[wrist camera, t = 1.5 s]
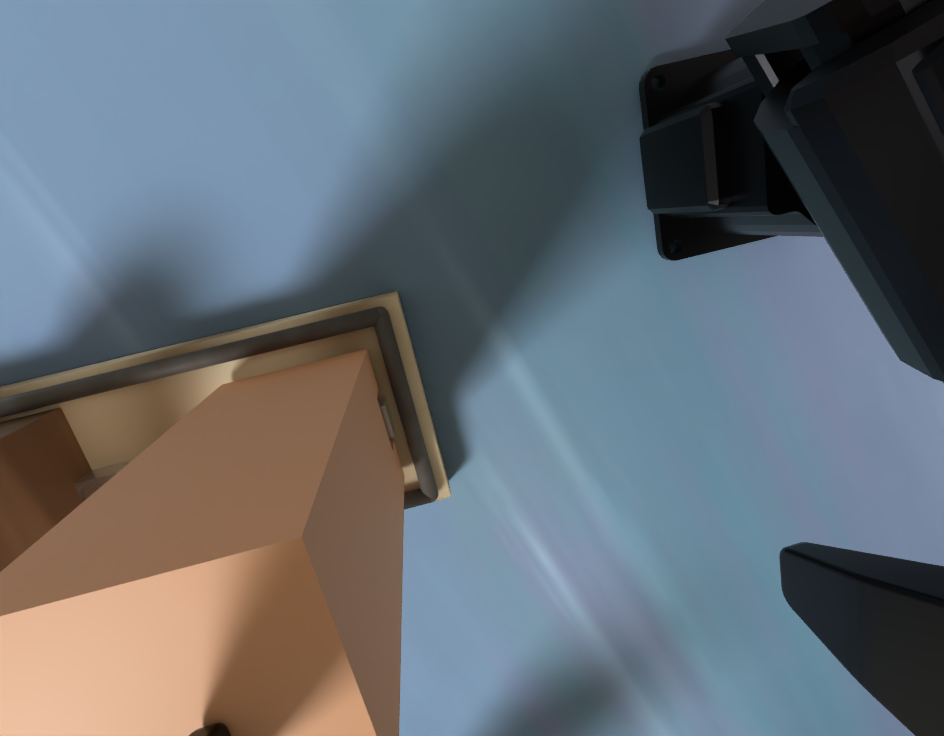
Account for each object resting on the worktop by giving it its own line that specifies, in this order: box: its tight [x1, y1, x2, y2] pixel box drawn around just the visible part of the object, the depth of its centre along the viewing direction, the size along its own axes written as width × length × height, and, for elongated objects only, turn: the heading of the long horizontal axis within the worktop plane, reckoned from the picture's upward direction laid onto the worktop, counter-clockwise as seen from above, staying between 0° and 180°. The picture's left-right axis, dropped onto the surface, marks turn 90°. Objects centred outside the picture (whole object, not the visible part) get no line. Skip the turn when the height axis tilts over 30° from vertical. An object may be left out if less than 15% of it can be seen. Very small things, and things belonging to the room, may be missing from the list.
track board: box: [0, 291, 451, 509], centre depth 18 cm, size 16×8×2 cm, turn 103°
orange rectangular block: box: [0, 349, 405, 736], centre depth 13 cm, size 5×5×11 cm
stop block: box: [0, 407, 92, 572], centre depth 15 cm, size 2×6×5 cm, turn 13°
